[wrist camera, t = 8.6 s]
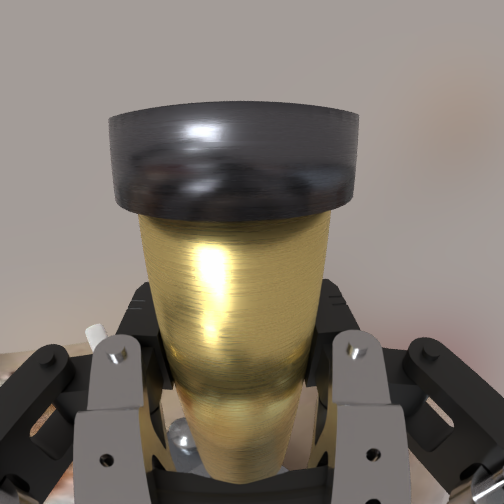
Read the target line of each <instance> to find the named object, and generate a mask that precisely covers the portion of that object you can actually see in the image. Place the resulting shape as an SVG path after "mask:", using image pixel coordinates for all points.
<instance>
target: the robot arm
mask: <svg viewBox="0 0 504 504" xmlns="http://www.w3.org/2000/svg"><path fill="white" fill-rule="evenodd" d="M304 380H305V384H306V387H312V386H317V390H318V397H317V400H316V409H315V420H314V430H313V440H312V448H311V454H310V458H309V462H308V466H307V469H301V470H293V471H287V472H284V473H281V474H278V475H275V476H272V477H268V478H265V479H261V480H258V481H254V482H250V483H246V484H234V483H229V482H224V481H220V480H216V479H212V478H208V477H204V476H200V475H197V474H193V473H184V472H177V471H176V468H175V465H174V463H173V460H172V457H171V453H170V449H169V444H168V438H167V433H166V427H165V421H164V415H163V408H162V403H161V401H160V399H161V394H162V389H168V390H173V385H174V380H173V377H172V373H171V370H170V367H169V363H168V359H167V356H166V352H165V348H164V345H163V341H162V337H161V333H160V329H159V325H158V320H157V316H156V312H155V307H154V303H153V298H152V293H151V289H150V284H149V282H145V283H144V284H143V285H142V286H140V287H139V288H138V289H137V290H136V292H135V294H134V296H133V298H132V301H131V302H130V304H129V306H128V309H127V310H126V313H125V315H124V317H123V319H122V321H121V323H120V326H119V328H118V330H117V332H116V334H115V335H113V336H110V337H107V338H105V339H103V340H102V341H101V342H99V343H98V345H97V346H96V347H95V349H94V352H93V354H90V355H83V356H77V357H69V355H68V353H67V351H66V349H65V348H64V347H62V346H60V345H57V344H51V345H46V346H43V347H41V348H39V349H38V350H37V351H35V352H34V353H33V354H32V355H31V356H30V357H29V358H28V359H27V360H26V361H25V362H24V363H23V364H22V365H21V366H20V367H19V368H18V369H17V370H16V371H15V372H14V373H13V374H12V375H11V376H10V377H9V378H8V380H7V381H6V382H5V383H4V384H3V385H2V386H1V387H0V504H43V502H44V501H45V500H46V498H47V497H48V495H49V494H50V492H51V491H52V489H53V488H54V487H55V485H56V484H57V482H58V481H59V479H60V478H61V477H62V475H63V474H64V472H65V471H66V469H67V468H68V467H69V465H70V464H71V462H72V461H73V482H74V501H75V504H411V481H410V465H409V453H408V448H409V449H410V451H411V452H412V453H413V454H414V455H415V456H416V457H417V459H418V460H419V461H420V462H421V463H422V464H423V465H424V467H425V468H426V469H427V470H428V471H429V472H430V473H431V475H432V476H433V477H434V478H435V479H436V480H437V481H438V482H439V484H440V485H441V486H442V487H443V488H444V489H445V490H446V492H447V493H448V494H449V495H450V497H449V502H447V504H504V398H503V397H502V396H501V395H500V394H499V393H498V392H497V391H496V390H494V389H493V388H492V387H491V386H490V385H489V384H488V383H487V382H486V381H485V380H483V379H482V378H481V377H480V376H479V375H478V374H477V373H476V372H474V371H473V370H472V369H471V368H470V367H469V366H468V365H466V364H465V363H464V362H463V361H462V360H461V359H460V358H458V357H457V356H456V355H455V354H454V353H453V352H451V351H450V350H449V349H448V348H446V347H445V346H444V345H443V344H442V343H440V342H439V341H437V340H435V339H432V338H427V337H425V338H424V337H422V338H417V339H415V340H414V341H412V342H411V344H410V346H409V348H408V350H398V349H388V348H383V347H381V345H380V342H379V341H378V340H377V339H376V338H375V337H374V336H373V335H371V334H369V333H367V332H364V331H361V330H360V328H359V326H358V324H357V322H356V320H355V318H354V317H353V314H352V313H351V311H350V309H349V307H348V305H346V301H345V300H344V298H343V297H342V294H341V292H340V290H339V288H338V286H336V285H335V284H334V283H332V282H331V281H330V280H329V279H322V285H321V291H320V298H319V304H318V310H317V316H316V321H315V327H314V333H313V338H312V343H311V348H310V353H309V358H308V363H307V368H306V373H305V377H304ZM428 397H430V398H431V399H432V400H433V401H434V402H435V403H436V404H437V405H438V406H439V407H440V408H441V409H442V410H443V411H444V412H445V413H446V414H447V415H448V416H449V417H450V418H451V419H452V421H453V423H454V427H451V426H449V425H448V424H447V423H446V422H445V421H444V420H443V419H442V418H441V417H440V416H439V415H438V414H437V412H436V411H435V410H434V409H433V408H432V407H431V406H430V405H429V404H428V403H427V402H426V400H427V399H428ZM51 404H53V405H54V407H55V408H56V410H55V411H54V412H53V413H52V414H51V416H50V417H49V418H48V419H47V421H46V422H45V423H44V424H43V426H42V427H41V428H40V429H39V430H38V432H37V433H36V434H35V435H34V436H32V437H30V430H31V428H32V426H33V425H34V424H35V423H36V422H37V420H38V419H39V418H40V417H41V416H42V414H43V413H44V412H45V411H46V410H47V408H48V407H49V406H50V405H51Z"/></svg>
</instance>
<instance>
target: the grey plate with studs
mask: <svg viewBox="0 0 504 504" xmlns="http://www.w3.org/2000/svg"><path fill="white" fill-rule="evenodd" d="M167 438H168V444H169V449H170V453H171V457H172V460H173V463H174V465H175V468H176V471H177V472H184V473H193V474H197V475H200V476H204V477H208V478H212V477H211V476H210V475H209V473H208V472H207V471H206V469H205V467H204V465H203V462H202V460H201V458H200V455H199V453H198V450H197V447H196V445H195V442H194V440H193V437H192V434H191V431H190V429H189V426H188V423H187V420H186V418H180V419H177V420H176V421H174V422H173V423H172V424H171V426H170V428H169V432H167ZM287 471H289V470H288V469H286V468H285V467H284V466H281V468H280V470H279V472H278V473H277V474H276V475H278V474H281V473H284V472H287ZM212 479H213V478H212Z"/></svg>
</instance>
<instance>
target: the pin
mask: <svg viewBox="0 0 504 504" xmlns="http://www.w3.org/2000/svg"><path fill="white" fill-rule="evenodd" d="M358 128H359V115H358V114H355V113H352V112H348V111H344V110H339V109H334V108H328V107H321V106H314V105H304V104H295V103H282V102H262V101H261V102H260V101H223V102H222V101H221V102H202V103H188V104H178V105H170V106H162V107H155V108H149V109H144V110H138V111H133V112H128V113H124V114H120V115H117V116H113V117H111V118H109V138H110V153H111V164H112V175H113V183H114V192H115V200H116V202H117V204H118V205H119V206H120V207H122V208H124V209H126V210H128V211H130V212H133V213H136V214H138V217H139V224H140V231H141V238H142V245H143V251H144V256H145V262H146V267H147V273H148V279H149V284H150V289H151V293H152V298H153V303H154V307H155V312H156V316H157V320H158V325H159V329H160V333H161V337H162V341H163V345H164V348H165V352H166V356H167V359H168V363H169V367H170V370H171V373H172V377H173V380H174V384H175V387H176V390H177V393H178V396H179V399H180V402H181V406H182V409H183V412H184V414H185V417H186V420H187V423H188V426H189V429H190V431H191V434H192V437H193V440H194V442H195V445H196V447H197V450H198V453H199V455H200V458H201V460H202V462H203V465H204V467H205V469H206V471H207V472H208V473H209V475H210V476H211V477H212V478H213V479H216V480H220V481H224V482H229V483H234V484H246V483H250V482H254V481H258V480H261V479H265V478H268V477H272V476H275V475H276V474H277V473H278V472H279V470H280V468H281V466H282V464H283V460H284V457H285V453H286V450H287V446H288V443H289V439H290V435H291V431H292V428H293V424H294V420H295V416H296V412H297V408H298V404H299V399H300V395H301V391H302V386H303V382H304V377H305V373H306V368H307V363H308V358H309V353H310V348H311V343H312V338H313V333H314V327H315V321H316V316H317V310H318V304H319V298H320V291H321V285H322V278H323V271H324V264H325V257H326V249H327V241H328V233H329V223H330V214H331V210H333V209H336V208H339V207H341V206H343V205H345V204H346V203H348V202H349V201H350V200H351V199H352V197H353V191H354V180H355V171H356V158H357V145H358Z"/></svg>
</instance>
